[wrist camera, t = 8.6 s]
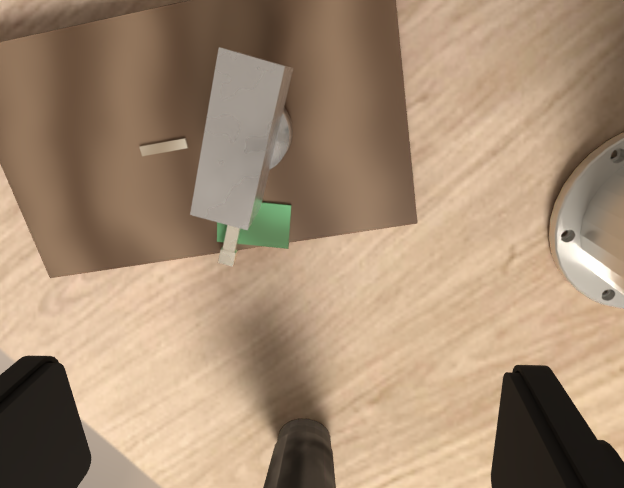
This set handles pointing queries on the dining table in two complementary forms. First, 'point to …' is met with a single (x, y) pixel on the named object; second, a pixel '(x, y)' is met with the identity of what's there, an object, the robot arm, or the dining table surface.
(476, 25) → the dining table surface
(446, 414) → the dining table surface
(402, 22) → the dining table surface
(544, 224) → the dining table surface
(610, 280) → the robot arm
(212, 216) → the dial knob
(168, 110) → the board
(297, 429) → the beverage cup
